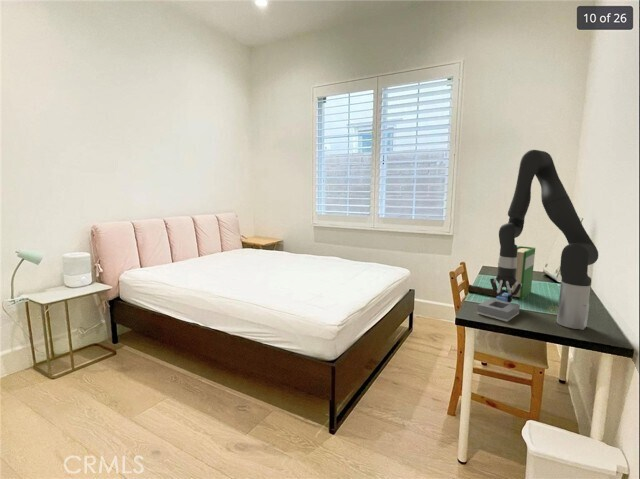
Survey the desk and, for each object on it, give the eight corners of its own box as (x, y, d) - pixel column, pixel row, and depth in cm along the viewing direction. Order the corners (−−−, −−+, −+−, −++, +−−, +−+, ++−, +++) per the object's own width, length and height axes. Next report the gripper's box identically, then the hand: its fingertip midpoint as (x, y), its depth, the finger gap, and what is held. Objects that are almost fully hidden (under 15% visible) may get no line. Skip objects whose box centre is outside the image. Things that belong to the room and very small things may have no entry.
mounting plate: (518, 313, 144) (519, 304, 144) (507, 321, 135) (507, 312, 134) (490, 306, 153) (490, 298, 153) (477, 313, 144) (477, 304, 143)
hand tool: (466, 292, 175) (467, 283, 174) (469, 290, 178) (470, 282, 177) (506, 300, 162) (507, 291, 161) (508, 299, 165) (509, 290, 164)
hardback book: (521, 299, 163) (526, 251, 160) (505, 296, 168) (509, 249, 165) (530, 292, 176) (535, 247, 172) (515, 289, 181) (519, 246, 177)
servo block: (511, 302, 158) (512, 292, 157) (504, 307, 151) (505, 296, 151) (503, 300, 161) (504, 290, 160) (495, 305, 154) (496, 295, 153)
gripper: (527, 267, 151) (523, 303, 153) (494, 262, 161) (491, 296, 164) (521, 269, 146) (517, 307, 148) (488, 264, 156) (485, 299, 159)
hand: (504, 301), depth 156 cm, fingers closed on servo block, 3 cm apart
